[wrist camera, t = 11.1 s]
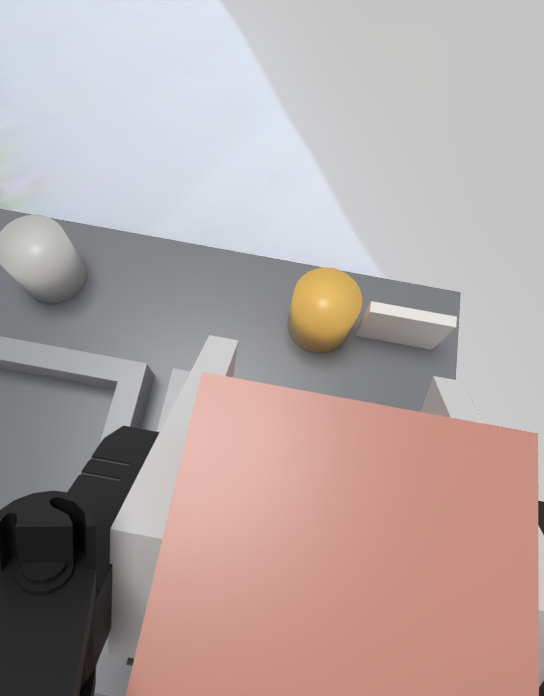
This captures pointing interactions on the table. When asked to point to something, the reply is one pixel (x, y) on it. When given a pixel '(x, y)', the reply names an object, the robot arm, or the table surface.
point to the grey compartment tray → (183, 343)
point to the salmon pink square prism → (343, 553)
